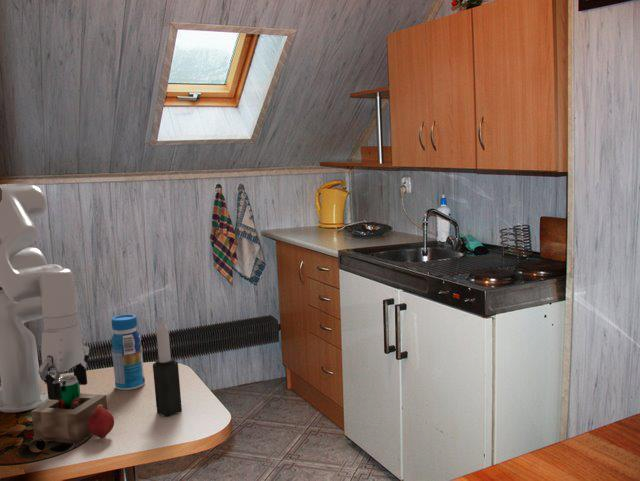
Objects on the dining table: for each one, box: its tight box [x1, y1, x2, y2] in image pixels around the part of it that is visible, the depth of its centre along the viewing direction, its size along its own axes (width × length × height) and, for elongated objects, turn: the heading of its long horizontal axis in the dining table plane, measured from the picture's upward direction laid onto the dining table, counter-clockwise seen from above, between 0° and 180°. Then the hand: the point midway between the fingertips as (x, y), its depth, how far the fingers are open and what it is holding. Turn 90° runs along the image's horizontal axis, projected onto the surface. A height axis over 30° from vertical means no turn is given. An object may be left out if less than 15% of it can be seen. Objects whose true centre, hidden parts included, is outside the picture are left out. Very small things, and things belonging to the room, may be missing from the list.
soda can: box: [58, 374, 81, 409], centre depth 158 cm, size 5×5×12 cm
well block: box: [30, 392, 109, 445], centre depth 158 cm, size 12×12×7 cm
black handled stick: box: [152, 315, 183, 418], centre depth 166 cm, size 5×5×25 cm
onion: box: [88, 405, 115, 439], centre depth 153 cm, size 6×6×8 cm
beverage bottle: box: [110, 314, 146, 391], centre depth 187 cm, size 8×8×20 cm
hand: (68, 391), depth 157 cm, fingers open, 9 cm apart
